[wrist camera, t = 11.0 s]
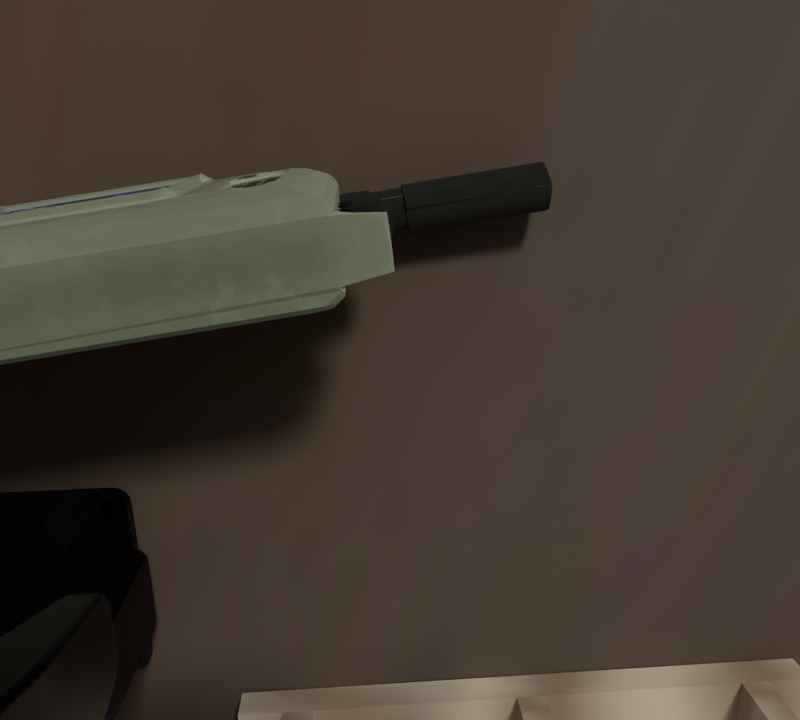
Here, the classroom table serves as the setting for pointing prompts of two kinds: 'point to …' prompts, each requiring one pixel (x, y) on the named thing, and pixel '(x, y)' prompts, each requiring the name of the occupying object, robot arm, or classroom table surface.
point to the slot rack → (556, 696)
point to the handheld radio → (217, 251)
